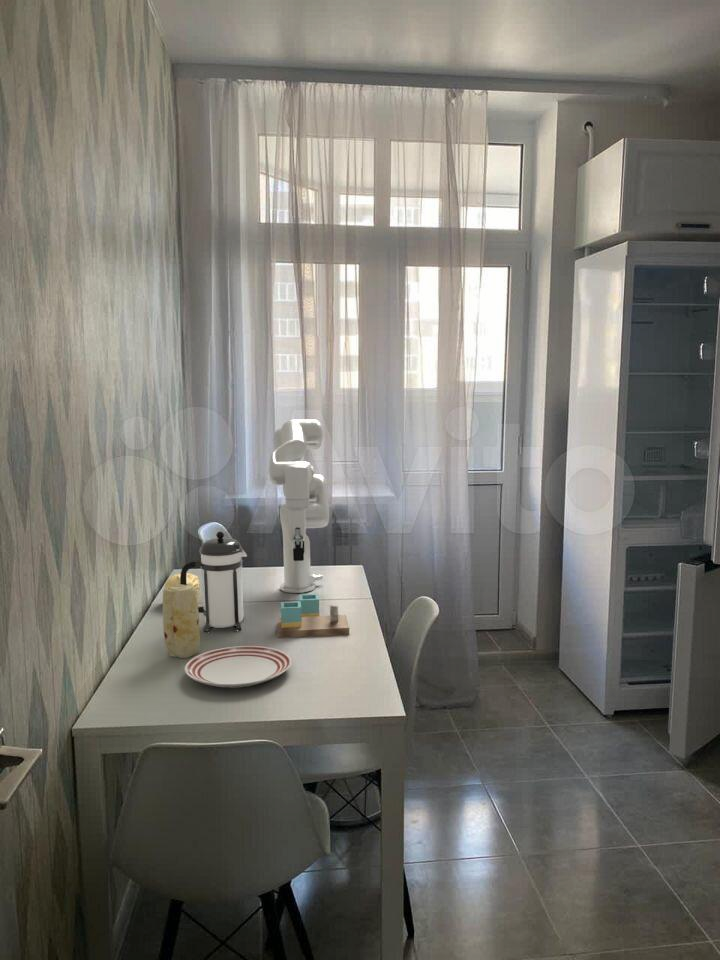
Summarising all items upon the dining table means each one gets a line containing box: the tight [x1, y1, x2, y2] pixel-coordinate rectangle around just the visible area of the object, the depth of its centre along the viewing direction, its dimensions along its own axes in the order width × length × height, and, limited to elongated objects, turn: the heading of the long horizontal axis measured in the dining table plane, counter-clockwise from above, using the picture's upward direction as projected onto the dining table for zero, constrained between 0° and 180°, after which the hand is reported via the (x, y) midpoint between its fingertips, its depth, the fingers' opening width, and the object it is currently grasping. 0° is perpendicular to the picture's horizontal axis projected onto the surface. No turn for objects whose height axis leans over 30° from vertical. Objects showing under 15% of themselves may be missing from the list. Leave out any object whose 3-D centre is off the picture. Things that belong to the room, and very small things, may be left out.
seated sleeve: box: [280, 600, 302, 628], centre depth 226 cm, size 6×6×6 cm
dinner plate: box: [184, 645, 293, 689], centre depth 194 cm, size 28×27×3 cm
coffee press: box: [180, 531, 248, 634], centre depth 228 cm, size 17×16×30 cm
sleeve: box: [299, 593, 320, 617], centre depth 240 cm, size 6×6×6 cm
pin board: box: [277, 604, 350, 639], centre depth 227 cm, size 21×12×7 cm, turn 96°
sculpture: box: [163, 572, 201, 599], centre depth 254 cm, size 11×12×11 cm
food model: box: [162, 584, 201, 659], centre depth 206 cm, size 10×7×20 cm
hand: (299, 556), depth 237 cm, fingers open, 9 cm apart
